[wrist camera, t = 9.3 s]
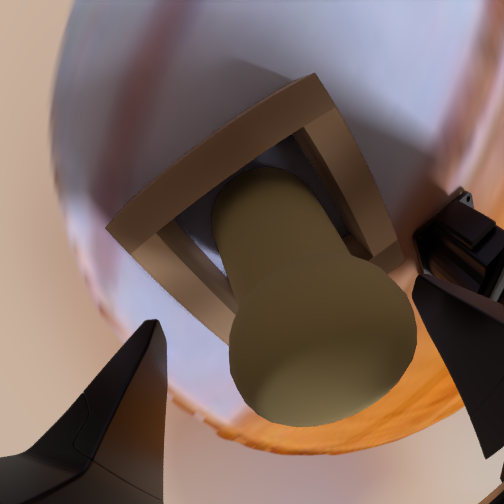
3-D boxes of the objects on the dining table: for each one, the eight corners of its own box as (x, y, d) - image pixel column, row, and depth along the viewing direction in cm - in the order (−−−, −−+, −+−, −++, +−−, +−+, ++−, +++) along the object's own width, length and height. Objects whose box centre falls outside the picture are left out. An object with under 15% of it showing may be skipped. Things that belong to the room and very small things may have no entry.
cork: (331, 180, 15) (485, 298, 5) (301, 274, 17) (377, 433, 7) (221, 156, 13) (246, 279, 4) (203, 262, 16) (203, 452, 6)
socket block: (380, 238, 17) (405, 260, 14) (242, 328, 19) (247, 361, 16) (294, 80, 12) (314, 72, 9) (123, 206, 14) (105, 227, 11)
